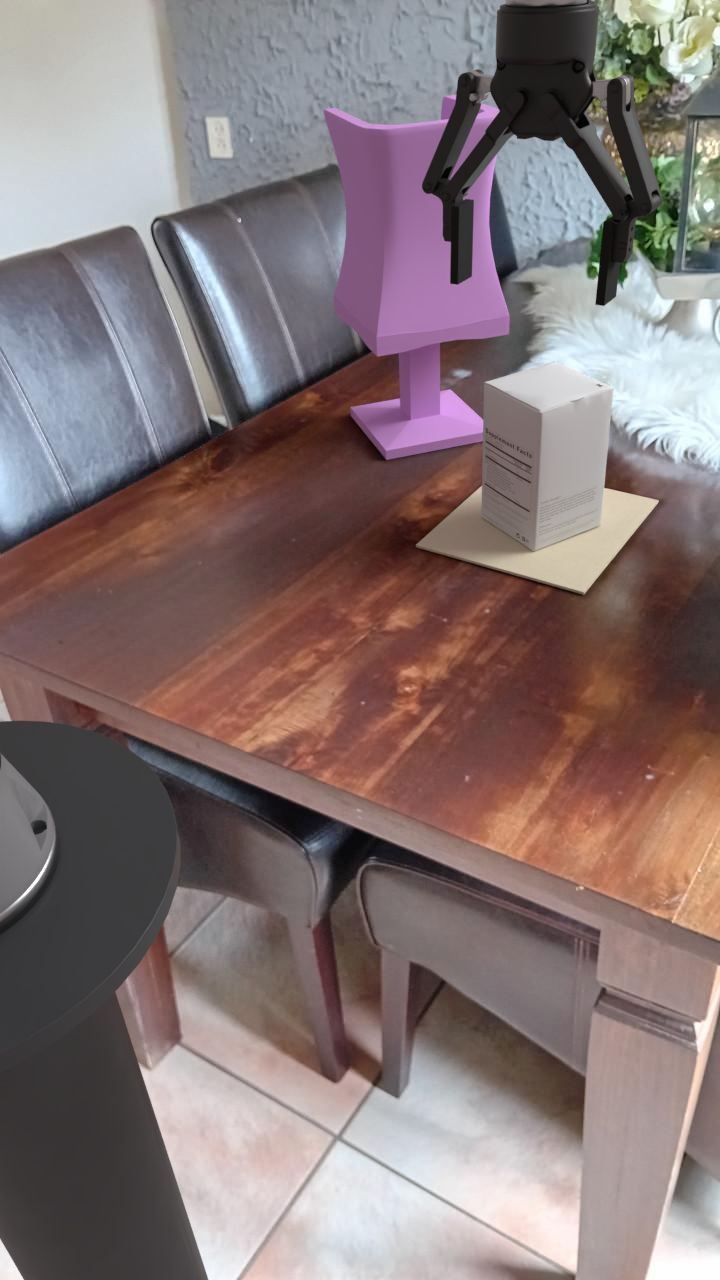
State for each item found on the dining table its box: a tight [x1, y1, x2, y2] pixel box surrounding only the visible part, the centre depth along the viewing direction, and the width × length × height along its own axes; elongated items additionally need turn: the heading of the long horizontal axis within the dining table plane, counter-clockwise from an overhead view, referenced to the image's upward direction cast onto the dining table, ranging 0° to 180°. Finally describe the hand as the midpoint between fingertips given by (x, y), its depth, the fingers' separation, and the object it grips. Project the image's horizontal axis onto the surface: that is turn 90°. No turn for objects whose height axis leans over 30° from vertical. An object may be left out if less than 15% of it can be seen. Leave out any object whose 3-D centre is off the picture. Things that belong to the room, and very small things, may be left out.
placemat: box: [415, 485, 660, 596], centre depth 103 cm, size 18×20×1 cm
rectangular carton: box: [481, 360, 614, 551], centre depth 99 cm, size 9×9×15 cm
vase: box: [323, 94, 511, 461], centre depth 114 cm, size 16×16×35 cm
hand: (530, 290), depth 87 cm, fingers open, 13 cm apart
